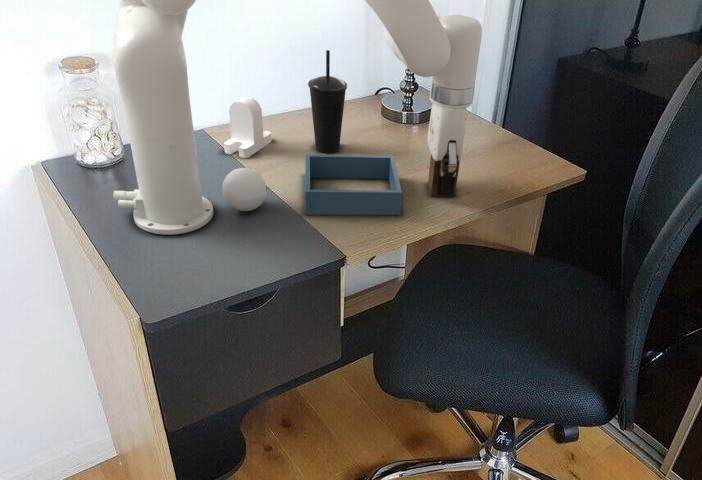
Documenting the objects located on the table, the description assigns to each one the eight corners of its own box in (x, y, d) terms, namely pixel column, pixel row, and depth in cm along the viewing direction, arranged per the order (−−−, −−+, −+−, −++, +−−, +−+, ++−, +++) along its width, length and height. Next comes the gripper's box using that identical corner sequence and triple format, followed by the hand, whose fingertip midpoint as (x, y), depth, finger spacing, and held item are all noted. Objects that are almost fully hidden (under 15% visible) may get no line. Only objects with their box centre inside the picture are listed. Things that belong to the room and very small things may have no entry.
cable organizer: (223, 152, 130) (218, 104, 124) (250, 135, 138) (247, 89, 132) (246, 158, 129) (242, 109, 123) (272, 140, 136) (270, 94, 130)
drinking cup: (348, 142, 138) (351, 47, 127) (342, 158, 132) (344, 58, 120) (313, 138, 139) (312, 42, 127) (305, 153, 132) (303, 54, 121)
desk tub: (305, 214, 113) (305, 191, 110) (306, 176, 125) (305, 154, 122) (400, 215, 115) (402, 192, 113) (392, 177, 127) (393, 156, 124)
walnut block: (431, 196, 122) (435, 159, 117) (427, 184, 125) (431, 148, 121) (455, 196, 122) (460, 160, 118) (451, 185, 126) (455, 149, 122)
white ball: (274, 214, 112) (272, 175, 108) (232, 222, 109) (228, 183, 105) (254, 188, 119) (252, 151, 115) (214, 195, 116) (210, 157, 111)
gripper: (423, 75, 119) (415, 163, 130) (438, 111, 105) (428, 207, 116) (463, 76, 120) (452, 164, 131) (483, 112, 106) (469, 207, 117)
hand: (441, 183), depth 123 cm, fingers open, 7 cm apart
